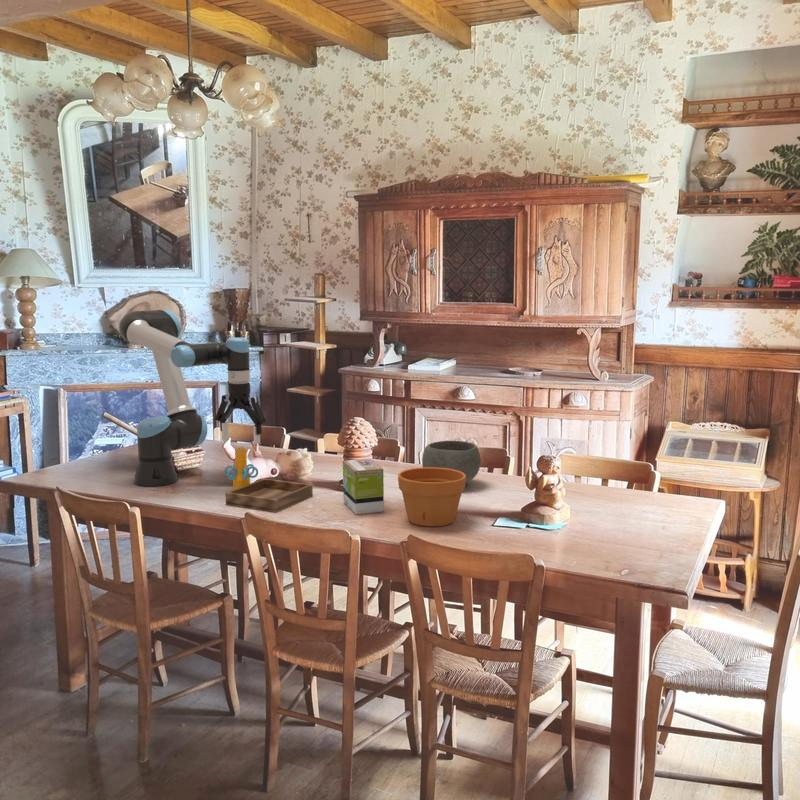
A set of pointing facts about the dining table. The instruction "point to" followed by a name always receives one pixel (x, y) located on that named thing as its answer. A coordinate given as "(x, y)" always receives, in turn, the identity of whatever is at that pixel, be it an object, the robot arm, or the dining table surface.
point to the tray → (269, 495)
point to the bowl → (453, 457)
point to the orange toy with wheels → (241, 469)
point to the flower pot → (431, 494)
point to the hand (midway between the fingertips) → (241, 442)
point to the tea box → (363, 486)
